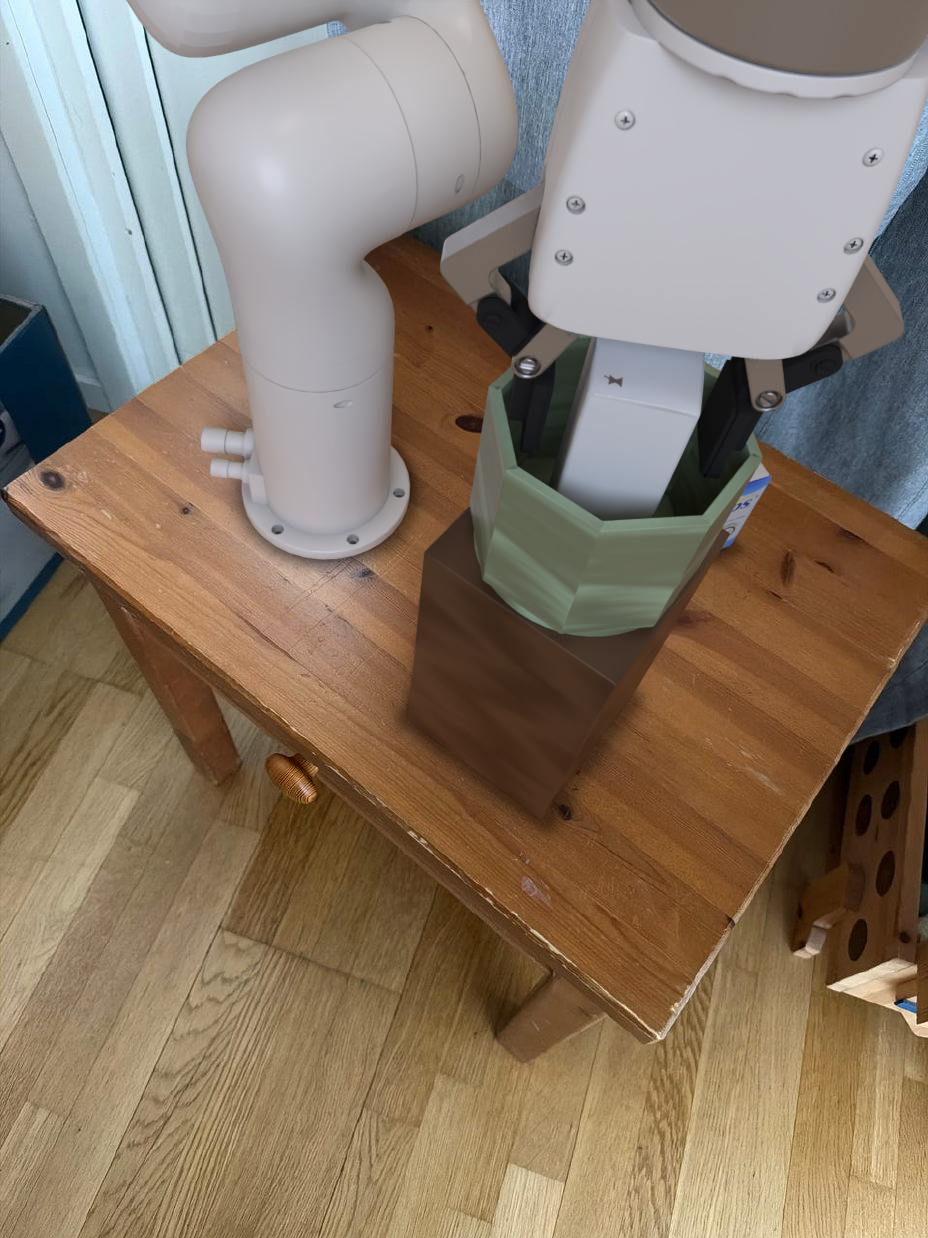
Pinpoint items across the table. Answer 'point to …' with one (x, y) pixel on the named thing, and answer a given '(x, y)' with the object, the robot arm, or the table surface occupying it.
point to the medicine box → (746, 503)
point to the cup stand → (554, 599)
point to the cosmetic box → (628, 427)
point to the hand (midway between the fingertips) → (619, 437)
